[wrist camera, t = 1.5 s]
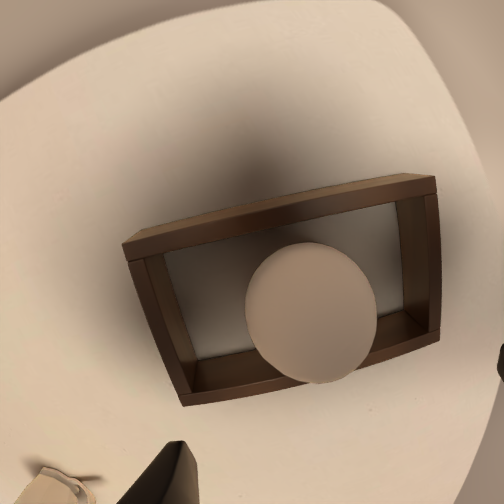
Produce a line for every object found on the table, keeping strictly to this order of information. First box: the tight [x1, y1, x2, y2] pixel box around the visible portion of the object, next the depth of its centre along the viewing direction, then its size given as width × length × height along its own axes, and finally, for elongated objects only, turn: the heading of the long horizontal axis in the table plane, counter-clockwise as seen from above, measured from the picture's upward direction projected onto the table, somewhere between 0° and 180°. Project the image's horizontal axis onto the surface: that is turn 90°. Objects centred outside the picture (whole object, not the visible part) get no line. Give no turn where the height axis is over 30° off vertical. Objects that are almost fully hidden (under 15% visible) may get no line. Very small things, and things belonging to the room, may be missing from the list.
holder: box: [122, 173, 442, 407], centre depth 15 cm, size 14×9×3 cm, turn 102°
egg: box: [245, 242, 377, 384], centre depth 13 cm, size 5×5×7 cm
